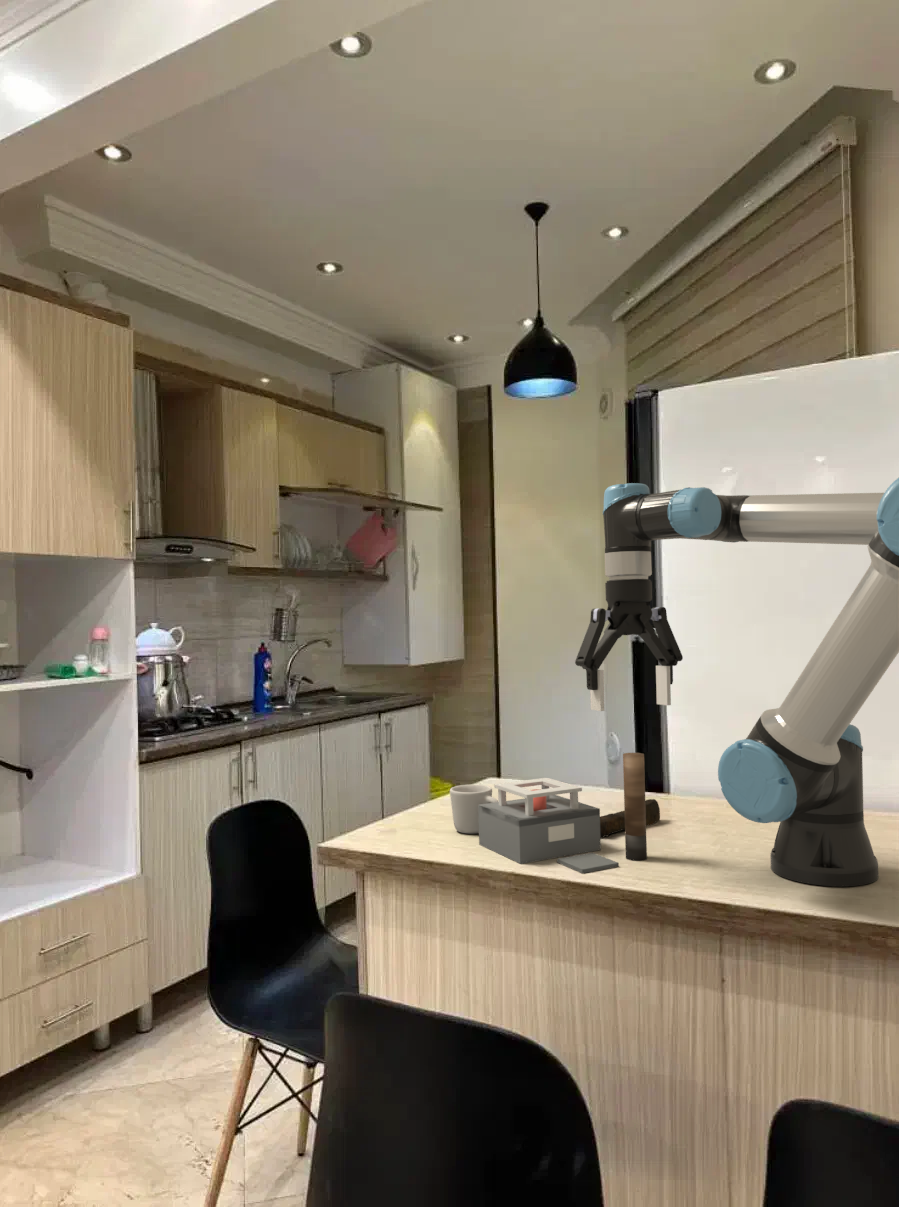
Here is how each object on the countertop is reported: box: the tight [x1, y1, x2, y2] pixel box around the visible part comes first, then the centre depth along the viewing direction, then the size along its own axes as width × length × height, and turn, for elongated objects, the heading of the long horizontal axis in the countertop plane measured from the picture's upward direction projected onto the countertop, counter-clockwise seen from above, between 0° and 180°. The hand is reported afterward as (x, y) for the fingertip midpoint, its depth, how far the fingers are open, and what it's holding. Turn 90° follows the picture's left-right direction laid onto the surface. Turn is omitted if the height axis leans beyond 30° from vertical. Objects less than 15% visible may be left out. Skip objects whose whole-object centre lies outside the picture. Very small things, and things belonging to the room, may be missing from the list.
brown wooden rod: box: [622, 752, 648, 862], centre depth 144 cm, size 3×3×17 cm
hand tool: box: [600, 798, 661, 839], centre depth 163 cm, size 19×4×5 cm, turn 128°
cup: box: [449, 784, 499, 835], centre depth 164 cm, size 11×8×8 cm
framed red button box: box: [478, 777, 602, 865], centre depth 152 cm, size 14×16×11 cm
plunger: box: [530, 788, 547, 811], centre depth 152 cm, size 3×3×7 cm
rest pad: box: [556, 852, 620, 874], centre depth 141 cm, size 7×7×1 cm
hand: (631, 707), depth 144 cm, fingers open, 13 cm apart
